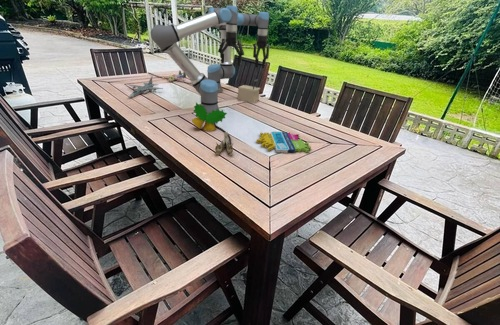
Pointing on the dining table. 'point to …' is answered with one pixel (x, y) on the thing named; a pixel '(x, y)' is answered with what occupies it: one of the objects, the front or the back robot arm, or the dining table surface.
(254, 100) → the chest
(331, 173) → the dining table surface
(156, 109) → the dining table surface
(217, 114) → the ornament
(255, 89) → the lid
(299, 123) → the dining table surface
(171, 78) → the toy
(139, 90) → the airplane
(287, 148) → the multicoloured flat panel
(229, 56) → the back robot arm
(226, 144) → the jawbone
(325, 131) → the dining table surface
